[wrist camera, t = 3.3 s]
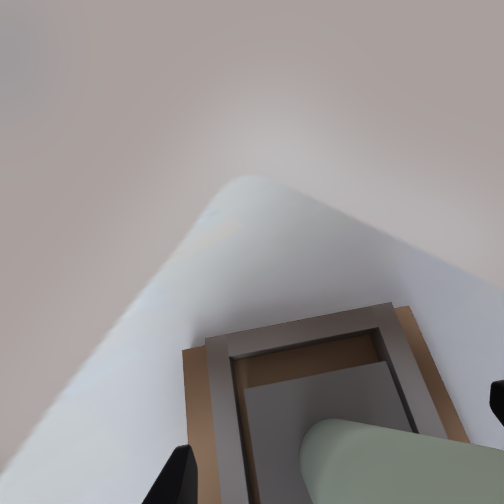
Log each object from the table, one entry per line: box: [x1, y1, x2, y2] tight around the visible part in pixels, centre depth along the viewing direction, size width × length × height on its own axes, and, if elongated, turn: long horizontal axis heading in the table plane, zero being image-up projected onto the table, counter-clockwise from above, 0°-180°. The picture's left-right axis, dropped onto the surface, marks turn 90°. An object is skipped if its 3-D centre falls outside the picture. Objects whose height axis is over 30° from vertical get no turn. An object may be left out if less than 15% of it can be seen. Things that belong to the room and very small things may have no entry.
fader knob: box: [244, 361, 504, 504], centre depth 8 cm, size 6×6×11 cm
